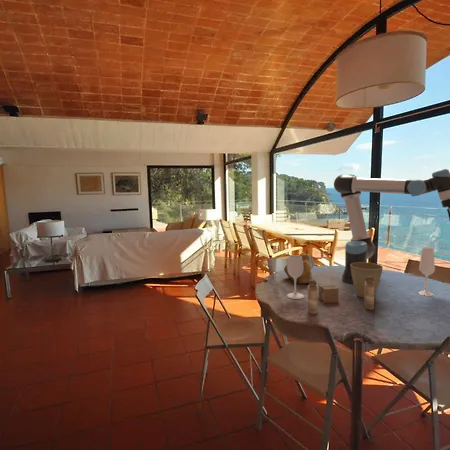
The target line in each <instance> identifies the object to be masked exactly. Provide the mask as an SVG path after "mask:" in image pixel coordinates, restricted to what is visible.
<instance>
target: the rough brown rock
mask: <svg viewBox="0 0 450 450" xmlns="http://www.w3.org/2000/svg"><path fill="white" fill-rule="evenodd" d="M298 256H301V257H302V260H303V273H302V275H301V276H299V277H298V278H297V280H296V284H309V281H310V280H313V277H312V269H311V267H312V266H311V258H310V256H309V253H300V254H299V255H298ZM283 271H284V273H285V274H286V275H287V277H288V279H291V280H292V281H293V282H294V278H293V277H292V276H290V275H289V273H288V271H287V264H286V265H285V267H284V268H283Z"/></svg>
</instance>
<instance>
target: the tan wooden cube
mask: <svg viewBox="0 0 450 450" xmlns="http://www.w3.org/2000/svg"><path fill="white" fill-rule="evenodd" d="M317 299H319V300H320V301H321V302H323V303H324V304H331V303H339V287H337V286H335V285H334V284H332V283H326V284H318V285H317Z"/></svg>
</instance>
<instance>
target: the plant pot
mask: <svg viewBox="0 0 450 450" xmlns="http://www.w3.org/2000/svg"><path fill="white" fill-rule="evenodd" d="M350 267H351V274H352V279H353V283H354V284H353V286H354V290H355V293H356V295H357V297H359V298H363V299H364V295H365V281H366V277H368V276H371V277H373V279H374V283H375V285H374V295H375V294H376V291H377V289H378V287H379V284H380V281H381V277H382V273H383V268H384V267H383V266H382V265H381V264H378V263H373V262H368V261H367V262H355V263H351V264H350Z"/></svg>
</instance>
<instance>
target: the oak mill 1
mask: <svg viewBox="0 0 450 450" xmlns="http://www.w3.org/2000/svg"><path fill="white" fill-rule="evenodd" d="M317 284H318V283H317V281H316V280H315V279H312V280H310V281H309V283H308V285H307V313H308V314H310V315H311V314H312V315H315V314H317V313H318V285H317Z"/></svg>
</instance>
